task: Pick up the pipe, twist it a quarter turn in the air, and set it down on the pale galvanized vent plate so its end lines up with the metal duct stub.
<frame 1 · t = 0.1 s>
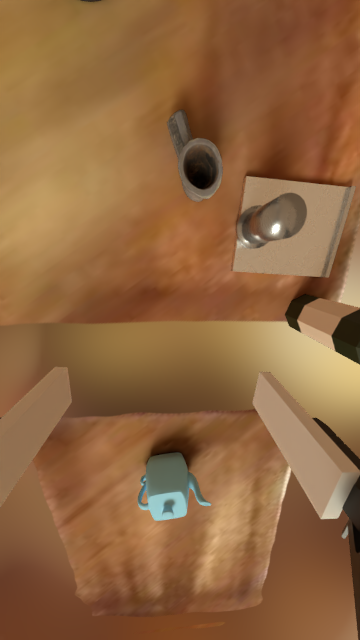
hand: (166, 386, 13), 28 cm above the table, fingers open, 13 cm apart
teapot: (172, 463, 54), on the table
wine bottle: (302, 312, 42), on the table
pipe: (188, 173, 33), on the table
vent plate: (286, 232, 37), on the table
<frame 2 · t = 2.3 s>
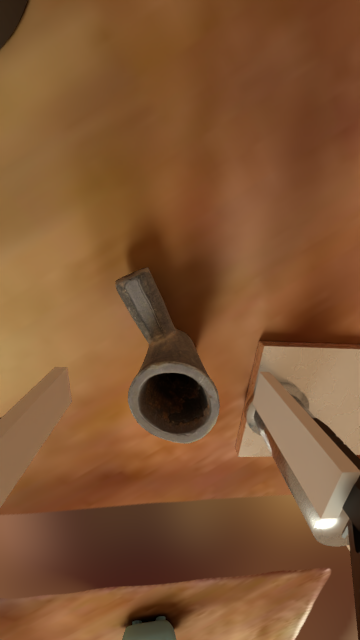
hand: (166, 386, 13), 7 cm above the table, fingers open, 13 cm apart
teapot: (157, 622, 43), on the table
pipe: (162, 329, 19), on the table
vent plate: (321, 401, 24), on the table
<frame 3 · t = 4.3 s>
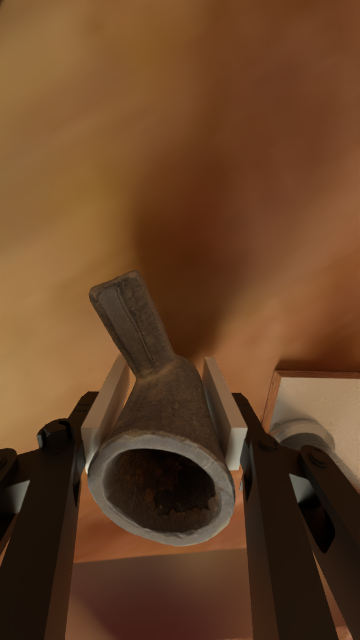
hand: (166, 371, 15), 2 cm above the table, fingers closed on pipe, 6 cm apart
pipe: (159, 353, 15), point 1 cm above the table, touching gripper
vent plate: (347, 437, 20), on the table
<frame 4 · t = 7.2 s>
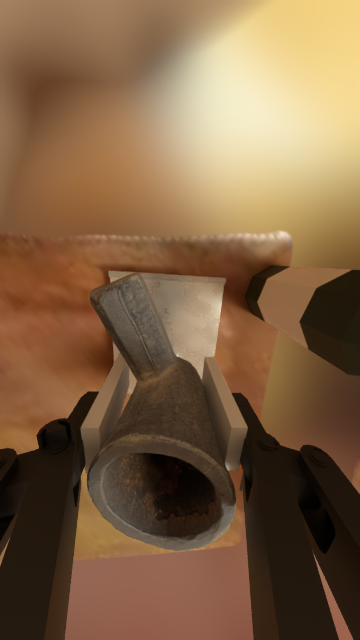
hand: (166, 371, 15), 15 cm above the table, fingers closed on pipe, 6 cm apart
wine bottle: (270, 293, 29), on the table
pipe: (160, 355, 15), point 15 cm above the table, touching gripper
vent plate: (165, 337, 30), on the table
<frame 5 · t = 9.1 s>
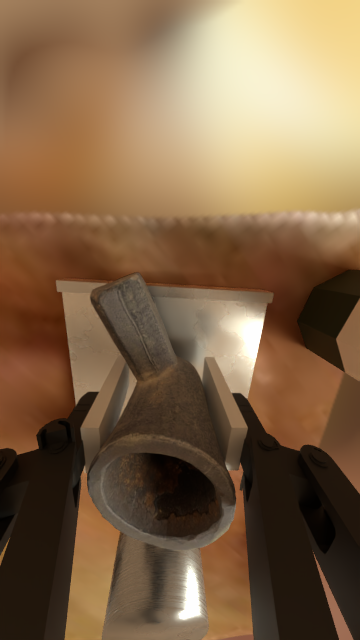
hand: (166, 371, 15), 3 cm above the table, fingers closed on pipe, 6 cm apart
wine bottle: (339, 315, 18), on the table
pipe: (160, 355, 15), point 2 cm above the table, touching gripper
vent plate: (164, 386, 18), on the table
when the fingers open (2 cm above the table, at t = 10.2 s): pipe stays where it is, resting on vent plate.
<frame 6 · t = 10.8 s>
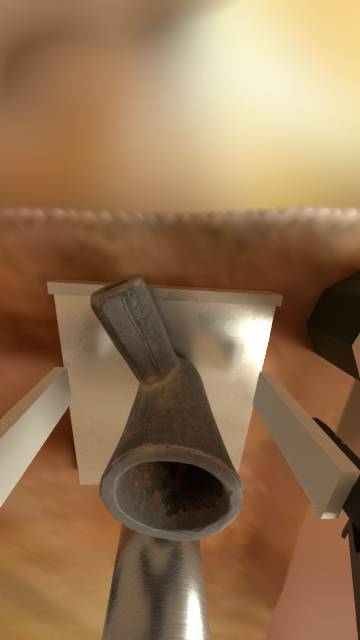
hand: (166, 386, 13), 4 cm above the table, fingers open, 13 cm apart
wine bottle: (351, 318, 16), on the table
pipe: (159, 354, 15), point 1 cm above the table, touching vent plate
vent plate: (165, 393, 17), on the table
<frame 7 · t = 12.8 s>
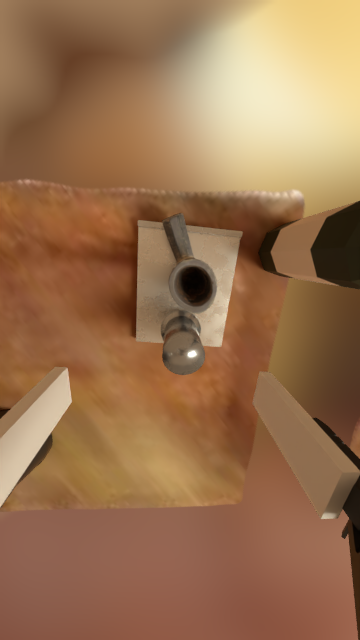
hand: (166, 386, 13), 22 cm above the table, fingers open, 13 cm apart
wine bottle: (282, 250, 32), on the table
pipe: (183, 261, 30), point 1 cm above the table, touching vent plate
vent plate: (184, 289, 33), on the table
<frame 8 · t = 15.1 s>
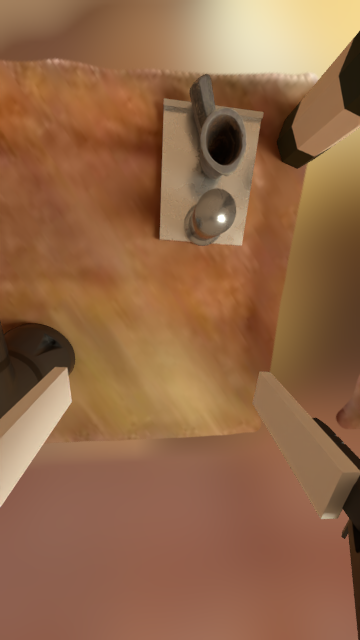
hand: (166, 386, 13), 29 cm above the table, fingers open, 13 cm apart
wine bottle: (299, 140, 33), on the table
pipe: (206, 147, 31), point 1 cm above the table, touching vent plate
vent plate: (205, 184, 34), on the table
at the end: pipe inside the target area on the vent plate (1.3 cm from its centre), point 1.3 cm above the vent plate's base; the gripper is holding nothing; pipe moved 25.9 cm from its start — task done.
